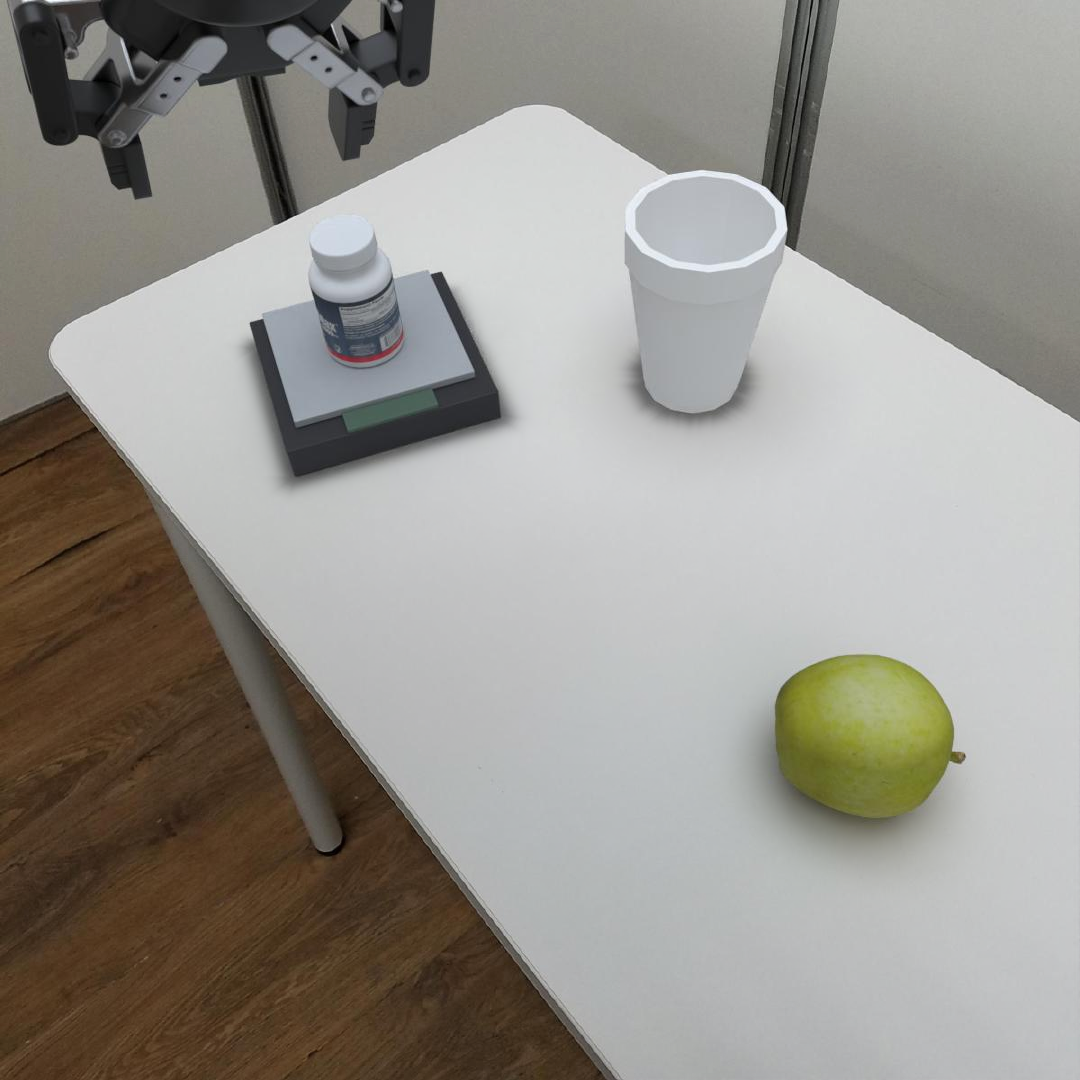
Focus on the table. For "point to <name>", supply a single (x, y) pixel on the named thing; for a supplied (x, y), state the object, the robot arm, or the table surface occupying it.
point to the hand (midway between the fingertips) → (242, 161)
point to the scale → (374, 380)
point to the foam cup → (700, 281)
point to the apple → (863, 735)
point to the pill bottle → (354, 292)
